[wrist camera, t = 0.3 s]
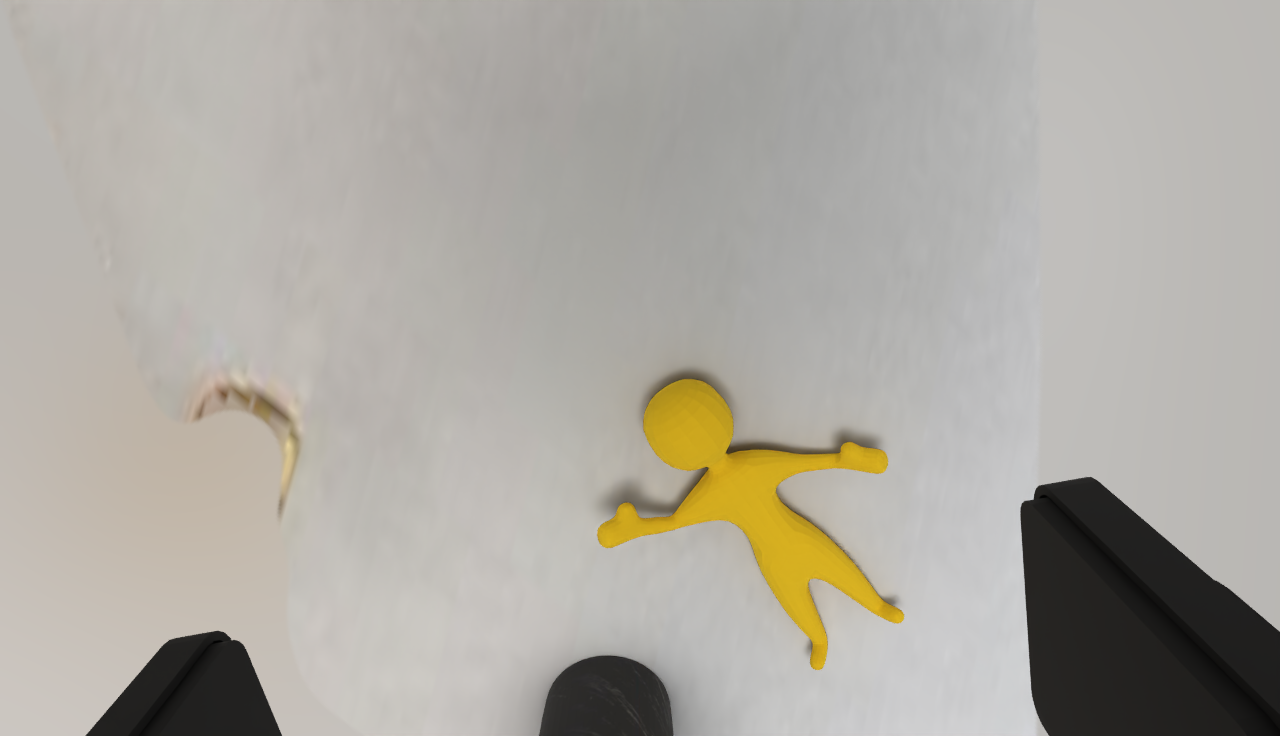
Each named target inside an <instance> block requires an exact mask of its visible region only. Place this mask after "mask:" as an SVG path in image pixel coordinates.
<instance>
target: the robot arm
mask: <svg viewBox="0 0 1280 736" xmlns="http://www.w3.org/2000/svg"><path fill="white" fill-rule="evenodd" d="M1021 531H1022V547H1023V563H1024V579H1025V595H1026V611H1027V627H1028V643H1029V659H1030V675H1031V690H1032V697H1033V701H1034V705H1035V708H1036V711H1037V714H1038V717H1039V719H1040V721H1041V723H1042V725H1043V726H1044V728H1045V730H1046V731H1047V733H1048V735H1049V736H1280V632H1279V631H1278V630H1277V629H1276V628H1274V627H1273V626H1272V625H1271V624H1270V623H1269V622H1267V621H1266V620H1265V619H1264V618H1263V617H1262V616H1260V615H1259V614H1258V613H1257V612H1256V611H1255V610H1253V609H1252V608H1251V607H1250V606H1249V605H1247V604H1246V603H1245V602H1244V601H1243V600H1241V599H1240V598H1239V597H1238V596H1237V595H1235V594H1234V593H1233V592H1232V591H1231V590H1230V589H1228V588H1227V587H1225V586H1224V585H1222V584H1220V583H1219V582H1217V581H1215V580H1213V579H1212V578H1211V577H1210V576H1208V575H1207V574H1206V573H1205V572H1204V571H1203V570H1201V569H1200V568H1199V567H1198V566H1197V565H1196V564H1194V563H1193V562H1192V561H1191V560H1190V559H1189V558H1187V557H1186V556H1185V555H1184V554H1183V553H1182V552H1180V551H1179V550H1178V549H1177V548H1176V547H1175V546H1173V545H1172V544H1171V543H1170V542H1169V541H1167V540H1166V539H1165V538H1164V537H1163V536H1162V535H1160V534H1159V533H1158V532H1157V531H1156V530H1155V529H1153V528H1152V527H1151V526H1150V525H1149V524H1148V523H1146V522H1145V521H1144V520H1143V519H1141V517H1139V516H1138V515H1137V514H1136V513H1135V512H1134V511H1132V510H1131V509H1130V508H1129V507H1128V506H1127V505H1125V504H1124V503H1123V502H1122V501H1121V500H1120V499H1118V498H1117V497H1116V496H1115V495H1114V494H1112V493H1111V492H1110V491H1109V490H1108V489H1107V488H1105V487H1104V486H1103V485H1102V484H1101V483H1100V482H1098V481H1097V480H1095V479H1094V478H1092V477H1086V478H1079V479H1074V480H1068V481H1062V482H1057V483H1051V484H1045V485H1040V486H1038V487H1037V488H1036V490H1035V494H1034V500H1029V501H1024V502H1023V503H1022V505H1021ZM86 736H282V735H281V732H280V730H279V728H278V725H277V723H276V720H275V718H274V716H273V713H272V711H271V708H270V706H269V704H268V701H267V699H266V696H265V694H264V691H263V689H262V687H261V684H260V682H259V679H258V677H257V675H256V673H255V670H254V667H253V666H252V663H251V660H250V658H249V655H248V653H247V651H246V649H245V647H244V645H243V644H242V643H240V642H239V641H236V640H231V638H230V637H229V636H227V634H226V633H224V632H220V631H214V632H208V633H202V634H197V635H192V636H185V637H180V638H175V639H172V640H169V641H168V642H167V643H165V644H164V645H163V646H162V647H161V648H160V649H159V651H158V652H157V653H156V654H155V655H154V656H153V658H152V659H151V660H150V661H149V662H148V663H147V665H146V666H145V667H144V668H143V670H142V671H141V672H140V673H139V674H138V675H137V676H136V677H135V679H134V680H133V681H132V682H131V683H130V684H129V686H128V687H127V688H126V689H125V690H124V692H123V693H122V694H121V695H120V696H119V697H118V699H117V700H116V701H115V702H114V703H113V704H112V706H111V707H110V708H109V709H108V710H107V711H106V713H105V714H104V715H103V716H102V717H101V718H100V720H99V721H98V722H97V723H96V724H95V725H94V727H93V728H92V729H91V730H90V731H89V732H88V734H87V735H86Z"/></svg>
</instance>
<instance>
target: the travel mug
mask: <svg viewBox="0 0 1280 736" xmlns="http://www.w3.org/2000/svg"><path fill="white" fill-rule="evenodd" d="M539 736H673V726H672V717H671V708H670V702H669V698H668V694H667V692H666V690H665V688H664V686H663V684H662V682H661V681H660V680H659V679H658V677H657V676H656V675H655V674H654V673H653V672H652V671H650V670H649V669H648V668H646V667H645V666H643V665H641V664H639V663H637V662H635V661H632V660H629V659H626V658H621V657H615V656H601V657H594V658H589V659H586V660H583V661H580V662H578V663H576V664H574V665H572V666H571V667H569V668H568V669H566V670H565V671H564V672H563V673H562V674H561V675H560V676H559V677H558V678H557V679H556V681H555V682H554V683H553V685H552V687H551V689H550V691H549V694H548V697H547V700H546V704H545V709H544V714H543V718H542V723H541V729H540V734H539Z"/></svg>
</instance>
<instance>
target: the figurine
mask: <svg viewBox="0 0 1280 736" xmlns="http://www.w3.org/2000/svg"><path fill="white" fill-rule="evenodd" d="M643 429H644V433H645V435H646V438H647V440H648V442H649V444H650V446H651V447H652V449H653V450H654V452H655V453H656V455H657V456H658V457H659V458H660V459H661V460H662V461H663V462H665V463H666V464H668V465H670V466H672V467H673V468H677V469H681V470H686V471H691V470H697V469H701V468H704V467H708V468H709V469H708V470H707V472H706V473H705V474H704V476H703V477H702V478H701V480H700V481H699V482H698V483H697V484H696V486H695V487H694V488H693V489H692V491H691V492H690V493H689V494H688V496H687V497H686V498H685V500H684V501H683V502H682V504H681V505H680V506H679V508H678V509H677V511H676V512H675V513H674V514H673V515H672V516H669V517H654V518H640V517H639V516H638V514H637V512H636V509H635V507H634V506H633V505H632V504H631V503H627V502H626V503H622V504H621V505H620V506H619V507H618V509H617V513H616V515H615V516H614V518H612V519H611V520H609V521H607V522H605V523H603V524H602V525H601V526H600V527H599V528H598V532H597V536H598V540H599V543H600V544H601V545H602V546H603V547H605V548H612V547H615V546H618V545H620V544H622V543H624V542H627V541H629V540H632V539H634V538H637V537H640V536H645V535H651V534H658V533H663V532H667V531H671V530H675V529H678V528H681V527H685V526H688V525H693V524H697V523H702V522H707V521H714V520H723V521H729V522H731V523H733V524H735V525H737V526H738V527H739V528H740V529H741V530H743V532H744V533H745V534H746V535H747V537H748V539H749V540H750V543H751V545H752V548H753V551H754V554H755V557H756V560H757V562H758V565H759V567H760V569H761V572H762V574H763V575H764V577H765V579H766V581H767V583H768V585H769V586H770V588H771V590H772V591H773V593H774V595H775V596H776V598H777V599H778V601H779V602H780V604H781V605H782V607H783V608H784V610H785V611H786V612H787V614H788V615H789V616H790V617H791V618H792V620H793V621H794V622H795V623H796V624H797V625H798V627H799V628H800V629H801V630H802V631H803V632H804V633H805V634H806V635H807V636H808V637H809V638H810V639H811V641H812V644H813V648H812V653H811V657H810V665H811V667H812V668H813V669H815V670H821V669H822V668H823V666H824V664H825V660H826V655H827V648H828V641H827V636H826V632H825V630H824V627H823V625H822V622H821V620H820V617H819V615H818V612H817V610H816V608H815V605H814V603H813V600H812V597H811V594H810V591H809V587H808V582H809V581H810V579H814V578H816V579H821V580H823V581H826V582H828V583H829V584H831V585H833V586H834V587H836V588H838V589H839V590H841V591H842V592H844V593H845V594H846V595H848V596H849V597H851V598H852V599H854V600H855V601H856V602H858V603H859V604H861V605H862V606H864V607H865V608H866V609H868V610H869V611H871V612H873V613H874V614H876V615H878V616H880V617H882V618H884V619H886V620H888V621H890V622H893V623H901V622H902V621H903V619H904V614H903V612H902V611H901V610H900V609H898V608H896V607H894V606H892V605H890V604H888V603H886V602H885V601H883V600H882V599H881V598H880V597H879V596H878V594H877V593H876V592H875V590H874V589H873V587H872V586H871V585H870V583H869V582H868V581H867V579H866V578H865V577H864V575H863V574H862V573H861V571H860V570H859V569H858V568H857V566H856V565H855V564H854V563H853V562H852V561H851V560H850V558H849V557H848V556H847V555H846V554H845V553H844V552H843V551H842V550H841V549H840V548H839V547H838V546H837V545H836V544H835V543H834V542H833V541H832V540H831V539H830V538H829V537H827V536H826V535H825V534H824V533H823V532H822V531H820V530H819V529H818V528H817V527H815V526H814V525H813V524H811V523H810V522H808V521H807V520H806V519H804V518H802V517H801V516H799V515H797V514H796V513H794V512H793V511H791V510H790V509H789V508H788V507H786V506H785V505H784V504H783V503H782V502H781V501H780V499H779V497H778V496H777V494H776V488H777V486H778V485H779V484H780V483H781V482H782V481H783V480H785V479H786V478H788V477H790V476H792V475H795V474H798V473H801V472H806V471H814V470H822V469H831V468H842V469H851V470H857V471H863V472H869V473H876V474H879V473H883V472H884V471H885V470H886V468H887V466H888V458H887V455H886V453H885V452H884V451H882V450H880V449H874V448H865V447H861V446H859V445H857V444H855V443H852V442H846V443H844V444H843V445H842V447H841V450H840V453H834V454H794V453H788V452H782V451H773V450H747V451H737V452H734V453H731V454H727V453H726V450H727V449H728V447H729V444H730V442H731V440H732V437H733V417H732V414H731V411H730V409H729V407H728V405H727V404H726V402H725V400H724V399H723V398H722V397H721V396H720V395H719V394H718V393H717V392H716V391H715V390H714V388H713V387H711V386H710V385H708V384H707V383H705V382H704V381H699V380H695V379H682V380H679V381H676V382H674V383H671V384H669V385H668V386H666V387H664V388H663V389H662V390H660V391H659V392H658V393H657V394H656V395H655V396H654V397H653V398H652V399H651V401H650V402H649V404H648V406H647V408H646V411H645V414H644V420H643Z"/></svg>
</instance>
